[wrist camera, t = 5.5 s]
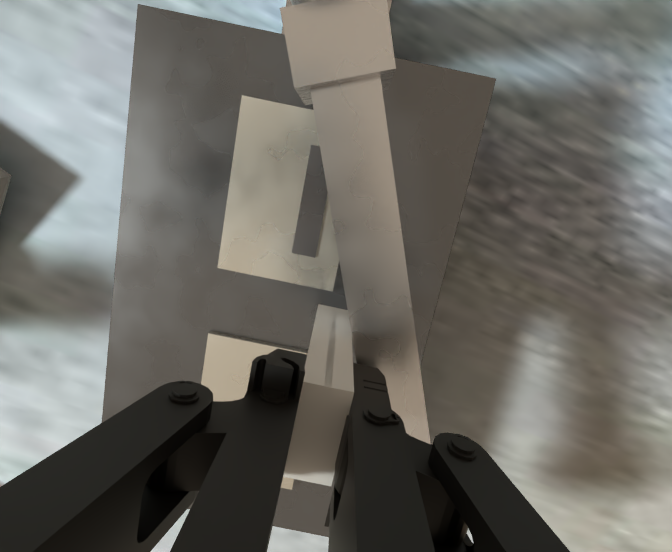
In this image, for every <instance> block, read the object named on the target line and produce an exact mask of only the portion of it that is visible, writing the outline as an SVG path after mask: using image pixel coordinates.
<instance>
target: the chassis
mask: <svg viewBox="0 0 672 552" xmlns="http://www.w3.org/2000/svg"><path fill="white" fill-rule="evenodd" d="M395 65H396V69H395V72H394V75H393V77H392V80H391V82H390V85H389V87H388V90H384V91H383V99H384V106H385V113H386V121H387V128H388V135H389V143H390V150H391V157H392V165H393V172H394V179H395V186H396V194H397V201H398V208H399V216H400V223H401V230H402V238H403V245H404V252H405V260H406V267H407V274H408V281H409V289H410V296H411V303H412V311H413V318H414V325H415V333H416V340H417V347H418V355H419V362H420V365H421V361H422V357H423V353H424V349H425V346H426V342H427V338H428V334H429V331H430V327H431V323H432V319H433V315H434V312H435V308H436V304H437V300H438V297H439V293H440V289H441V285H442V281H443V278H444V274H445V270H446V266H447V263H448V259H449V255H450V251H451V247H452V244H453V240H454V236H455V232H456V229H457V225H458V221H459V217H460V213H461V210H462V206H463V202H464V198H465V195H466V191H467V187H468V183H469V179H470V176H471V172H472V168H473V164H474V161H475V157H476V153H477V149H478V145H479V142H480V138H481V134H482V130H483V127H484V123H485V119H486V115H487V111H488V108H489V104H490V100H491V96H492V93H493V89H494V85H495V81H496V79H495V78H490V77H485V76H481V75H476V74H471V73H466V72H461V71H457V70H452V69H447V68H442V67H437V66H433V65H428V64H423V63H418V62H413V61H409V60H404V59H399V58H395ZM318 304H321V305H326V306H330V307H335V308H340V309H344V310H348V309H347V303H346V297H345V291H344V285H343V279H342V274H341V268H340V262H339V256H338V250H337V244H336V238H335V232H334V227H333V221H332V215H331V209H330V203H329V197H328V191H327V186H326V180H325V174H324V168H323V162H322V156H321V150H320V144H319V139H318V133H317V127H316V121H315V115H314V109H313V104H309V105H305V104H304V103H303V101H302V99H301V98H300V96H299V95H298V93H297V91H296V90H295V88H294V84H293V78H292V73H291V67H290V61H289V56H288V50H287V44H286V39H285V35H284V34H279V33H274V32H269V31H265V30H260V29H255V28H250V27H245V26H241V25H236V24H231V23H226V22H221V21H217V20H212V19H207V18H202V17H197V16H193V15H188V14H183V13H178V12H173V11H169V10H164V9H159V8H154V7H149V6H145V5H140V4H138V9H137V20H136V32H135V43H134V55H133V67H132V78H131V90H130V101H129V113H128V125H127V136H126V148H125V159H124V171H123V183H122V194H121V206H120V218H119V229H118V241H117V252H116V264H115V276H114V287H113V299H112V310H111V322H110V334H109V345H108V357H107V368H106V380H105V392H104V403H103V415H102V423H103V422H104V421H106V420H107V419H109V418H111V417H112V416H114V415H115V414H117V413H119V412H120V411H122V410H123V409H125V408H126V407H128V406H130V405H131V404H133V403H134V402H136V401H138V400H139V399H141V398H142V397H144V396H145V395H147V394H149V393H150V392H152V391H153V390H155V389H157V388H158V387H160V386H162V385H164V384H167V383H170V382H176V381H192V382H195V383H199V384H202V385H204V386H206V387H208V388H209V389H210V390H211V392H212V393H213V401H234V400H239V399H242V398H244V396H245V394H246V392H247V388H248V382H249V377H250V371H251V366H252V361H253V360H254V359H255V358H256V357H258V356H261V355H268V354H269V353H270V352H272V351H274V350H276V349H283V350H288V351H293V352H298V353H302V354H308V349H309V345H310V340H311V336H312V331H313V327H314V322H315V317H316V313H317V308H318ZM352 352H353V363H356V364H357V362H356V356H355V350H354V344H353V338H352ZM334 479H335V473H334V477H333V481H332V486H327V485H321V484H316V483H311V482H306V481H302V480H297V479H292V478H287V477H283V480H282V484H281V489H280V494H279V498H278V503H277V507H276V512H275V516H274V521H273V526H276V527H281V528H286V529H291V530H296V531H301V532H306V533H311V534H316V535H321V536H326V537H329V527H326V526H324V525H325V521H326V517H327V513H328V509H329V504H330V500H331V496H332V492H333V488H334V484H335V483H334ZM198 492H199V491H198ZM195 499H196V498H195ZM194 501H195V500H194ZM193 503H194V502H193ZM193 503H192V504H191V505H190V506H189V507H188V508H187V509H191V507H192V505H193Z"/></svg>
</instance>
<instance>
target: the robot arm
mask: <svg viewBox="0 0 672 552" xmlns="http://www.w3.org/2000/svg"><path fill="white" fill-rule="evenodd" d="M386 385H387V384H386V379H385V376H384V375H383V374H382V372H381V371H380V370H379V369H378V368H376V367H371V366H366V365H361V364H356V363H353V352H352V332H351V326H350V321H349V315H348V310H344V309H340V308H335V307H330V306H326V305H321V304H318V308H317V313H316V317H315V322H314V327H313V331H312V336H311V340H310V345H309V349H308V354H302V353H298V352H293V351H288V350H283V349H276V350H274V351H272V352H270V353H269V354H268V355H261V356H258V357H256V358H255V359H254V360H253V361H252V366H251V371H250V377H249V382H248V388H247V392H246V394H245V396H244V398H242V399H239V400H234V401H213V393H212V392H211V390H210V389H209V388H208V387H206V386H204V385H202V384H199V383H195V382H192V381H176V382H170V383H167V384H164V385H162V386H160V387H158V388H157V389H155V390H153V391H152V392H150V393H149V394H147V395H145V396H144V397H142V398H141V399H139V400H138V401H136V402H134V403H133V404H131V405H130V406H128V407H126V408H125V409H123V410H122V411H120V412H119V413H117V414H115V415H114V416H112V417H111V418H109V419H107V420H106V421H104V422H103V423H101V424H100V425H98V426H96V427H95V428H93V429H92V430H90V431H88V432H87V433H85V434H84V435H82V436H81V437H79V438H77V439H76V440H74V441H73V442H71V443H69V444H68V445H66V446H65V447H63V448H61V449H60V450H58V451H57V452H55V453H54V454H52V455H50V456H49V457H47V458H46V459H44V460H42V461H41V462H39V463H38V464H36V465H35V466H33V467H31V468H30V469H28V470H27V471H25V472H23V473H22V474H20V475H19V476H17V477H16V478H14V479H12V480H11V481H9V482H8V483H6V484H4V485H3V486H1V487H0V552H150V551H151V550H152V549H153V548H154V547H155V545H156V544H157V543H158V542H159V541H160V540H161V539H162V537H163V536H164V535H165V534H166V533H167V532H168V530H169V529H170V528H171V527H172V526H173V525H174V523H175V522H176V521H177V520H178V519H179V518H180V517H181V515H182V514H183V513H184V512H185V511H186V510H187V508H188V507H189V506H190V505H191V504H192V503H193V502H194V503H193V505H192V507H191V509H190V511H189V513H188V515H187V517H186V519H185V522H184V524H183V526H182V528H181V530H180V532H179V534H178V536H177V538H176V540H175V542H174V545H173V547H172V549H171V551H170V552H267V548H268V544H269V539H270V535H271V530H272V526H273V521H274V516H275V512H276V507H277V503H278V498H279V494H280V489H281V484H282V480H283V477H287V478H292V479H297V480H302V481H306V482H311V483H316V484H321V485H327V486H332V481H333V477H334V473H335V479H334V483H335V484H334V488H333V492H332V496H331V500H330V504H329V509H328V513H327V517H326V521H325V525H324V526H326V527H329V549H328V552H570V551H569V550H568V549H567V547H566V546H565V545H564V544H563V543H562V542H561V540H560V539H559V538H558V537H557V536H556V534H555V533H554V532H553V531H552V530H551V528H550V527H549V526H548V525H547V524H546V522H545V521H544V520H543V519H542V518H541V516H540V515H539V514H538V513H537V512H536V510H535V509H534V508H533V507H532V506H531V504H530V503H529V502H528V501H527V500H526V499H525V497H524V496H523V495H522V494H521V493H520V491H519V490H518V489H517V488H516V487H515V485H514V484H513V483H512V482H511V481H510V479H509V478H508V477H507V476H506V475H505V473H504V472H503V471H502V470H501V469H500V467H499V466H498V465H497V464H496V463H495V462H494V460H493V459H492V458H491V457H490V456H489V454H488V453H487V452H486V451H485V450H484V449H483V448H482V447H481V446H480V445H479V444H477V443H475V442H474V441H472V440H471V439H470V438H468V437H465V436H463V435H460V434H453V433H440V434H439V435H437V436H435V439H434V442H433V445H431V444H428V443H426V442H423V441H421V440H418V439H416V438H414V437H412V436H410V435H409V434H407V433H406V430H405V426H404V422H403V421H402V419H401V417H400V416H399V415H398V414H397V413H396V412H394V411H393V410H392V409H391V404H390V399H389V394H388V389H387V386H386ZM198 491H199V492H198ZM195 498H196V499H195ZM194 500H195V501H194ZM468 528H469V530H470V532H471V534H472V538H473V542H474V544H473V543H472V542H471V540H470V539H469V537H468V535H467V534H466V533H467V530H468Z"/></svg>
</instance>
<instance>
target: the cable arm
mask: <svg viewBox="0 0 672 552" xmlns="http://www.w3.org/2000/svg"><path fill="white" fill-rule="evenodd" d="M280 11H281V16H282V22H283V28H284V33H285V39H286V44H287V50H288V56H289V61H290V67H291V73H292V78H293V84H294V88H295V90H296V91H297V93H298V95H299V96H300V98H301V99H302V101H303V103H304V104H305V105H309V104H313V109H314V115H315V121H316V127H317V133H318V139H319V144H320V150H321V156H322V162H323V168H324V174H325V180H326V186H327V191H328V197H329V203H330V209H331V215H332V221H333V227H334V232H335V238H336V244H337V250H338V256H339V262H340V268H341V274H342V279H343V285H344V291H345V297H346V303H347V309H348V315H349V321H350V326H351V332H352V338H353V344H354V350H355V356H356V362H357V364H361V365H366V366H371V367H376V368H378V369H379V370H380V371H381V372H382V374H383V375H384V376H385V379H386V384H387V385H386V386H387V389H388V394H389V399H390V404H391V409H392V410H393V411H394V412H396V413H397V414H398V415H399V416H400V417H401V419H402V421H403V422H404V426H405V430H406V433H407V434H409V435H410V436H412V437H414V438H416V439H418V440H421V441H423V442H426V443H428V444H431V442H430V435H429V428H428V420H427V413H426V406H425V398H424V391H423V384H422V376H421V369H420V362H419V355H418V347H417V340H416V333H415V325H414V318H413V311H412V303H411V296H410V289H409V281H408V274H407V267H406V260H405V252H404V245H403V238H402V230H401V223H400V216H399V208H398V201H397V194H396V186H395V179H394V172H393V165H392V157H391V150H390V143H389V135H388V128H387V121H386V113H385V106H384V99H383V91H384V90H388V87H389V85H390V82H391V80H392V77H393V75H394V72H395V69H396V65H395V58H394V50H393V42H392V34H391V27H390V19H389V11H388V3H387V0H316V1H311V2H307V3H302V4H297V5H292V6H287V7H282V8H280Z"/></svg>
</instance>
